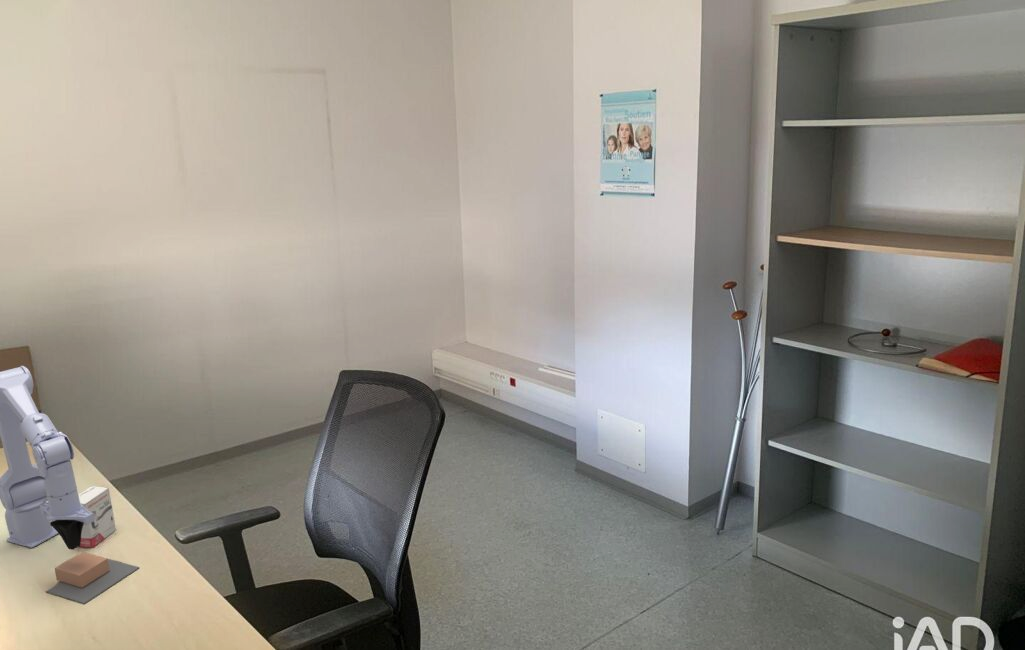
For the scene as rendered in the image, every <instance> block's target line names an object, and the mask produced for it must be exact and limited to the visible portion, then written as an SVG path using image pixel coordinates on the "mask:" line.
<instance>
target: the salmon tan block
mask: <svg viewBox="0 0 1025 650" xmlns="http://www.w3.org/2000/svg"><path fill="white" fill-rule="evenodd" d="M108 559H109V558H106V557H104V556H101V555H96V554H93V553H89V552H85V551H81V552H80V553H78V554H76V555H75V556H72V557H71V558H69V559H68V560H66V561H64V562H63V563H60V564H59V565H57V566H55V567H54V568H53V569H54V573H55V578H56V580H57V581H59V582H65V583H68V584H71V585H74V586H78V587H81V588H83V587H84V586H86V585H87V584H89V583H90V582H92V581H94V580H95V579H97V578H98V577H100V576H102V575H103V574H105V573H106V572H108V571H110V568H109V564H108Z"/></svg>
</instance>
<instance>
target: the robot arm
mask: <svg viewBox="0 0 1025 650" xmlns="http://www.w3.org/2000/svg"><path fill="white" fill-rule="evenodd" d="M33 389H34V379H33V376H32V374H31V372H30V370H29V368H27V367H26V366H24V365H20V366H19V367H14V368H11V369H6V370H2V371H0V440H1V444H2V449H3V452H4V456H5V460H6V464H7V467H8V468H7V470H6V471H5V472H4V473H3V474H2V475H1V476H0V503H1V505H2V507H3V508H4V509H5V512H4V519H5V523H6V526H7V527H6V528H7V531H8V535H9V537H8V538H6V542H9V543H13V544H15V545H19V546H20V545H21V546H24V547H27V548H31V549H32V548H35V547H36V546H38V545H40V544H43V543H44V542H45V541H47V540H49V539H51V538H53V537H55V536H57V535H58V534H59V536H60V537H61V539H62V541H63V543H64V544H65V546H66V547H67V549H68V550H71V551H73V550H76V549H77V548H79V547H80V544H81V533H82V528H83V525H88V524H90V523H92V522H94V521H95V519H94V514H93V513H92V512H89V511H88V510H87V509H86V508H85V507H84V506H82V505H81V504H80V500H79V491H78V487H77V482H76V478H75V473H74V468H73V463H72V460H74V457H75V452H74V448H73V445H72V443H71V440H70V439H69V437H68V436H67V435H66V434H65V433H63V432H62V431H58V430H57V428H56V426H55V425H54V423H53V422H52V421H51V419H50V417H49V415H48V414H46V413H43V412H42V413H41V412H39V409H38V408H37V406H36V403H35V402H34V400H33V398H32V394H33V393H34V392H33ZM27 442H28V444H29V446H30V447H31V450H32V451H31V453H32V456H33V459H34V461H35V464H34V463H32V461H31V458H30V457H31V456H30V453H29V448H28V444H27Z"/></svg>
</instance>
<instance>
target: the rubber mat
mask: <svg viewBox="0 0 1025 650" xmlns="http://www.w3.org/2000/svg"><path fill="white" fill-rule="evenodd" d="M107 559H108V564H109V568H110V571H108V572H106V573H105V574H103V575H102V576H100V577H98V578H97V579H95V580H94V581H92V582H90V583H89V584H87V585H86V586H84V587H83V588H81V587H78V586H74V585H71V584H68V583H65V582H61V581H59V583H57V584H56V585H54V586H52V587H50V588H49V589H47V590H45V593H46V594H50V595H53V596H56V597H60V598H63V599H66V600H69V601H72V602H74V603H75V602H76V603H79V604H82V605H86V604H88V603H89V602H90V601H92V600H93V599H95V598H97V597H98V596H100V595H101V594H103V593H104V592H106V591H107V590H109V589H110V588H112V587H113V586H115V585H117V584H118V583H120V582H121V581H122V580H124V579H125V578H127V577H129V576H130V575H132V574H133V573H134V571H135V572H136V571H137V570H139V569H140V566H137V565H132V564H129V563H125V562H122V561H118V560H115V559H111V558H107ZM128 575H129V576H128Z"/></svg>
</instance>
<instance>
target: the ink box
mask: <svg viewBox="0 0 1025 650" xmlns="http://www.w3.org/2000/svg"><path fill="white" fill-rule="evenodd" d="M78 495H79V500H80V504H81V505H82V506H84V507H85V508H86V509H87V510H88V511H89V512H92V513H93V514H94V519H95V521H94V522H92V523H90V524H88V525H83V528H82V533H81V544H80V546H79V547H81V548H82V547H83V548H95V547H96V546H97V545H99V544H100V543H101V542H102V541H103V540H105V539H106V538H107V537H109V536H110V535H111V534H113V533H114V532H115V531H117V525H116V521H115V516H114V515H115V514H114V510H113V505H112V500H111V499H112V498H111V494H110V487H106V486H96V485H92V486H90V487H88V488H86V489H85V490H83V491H82V492H80V493H78Z"/></svg>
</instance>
